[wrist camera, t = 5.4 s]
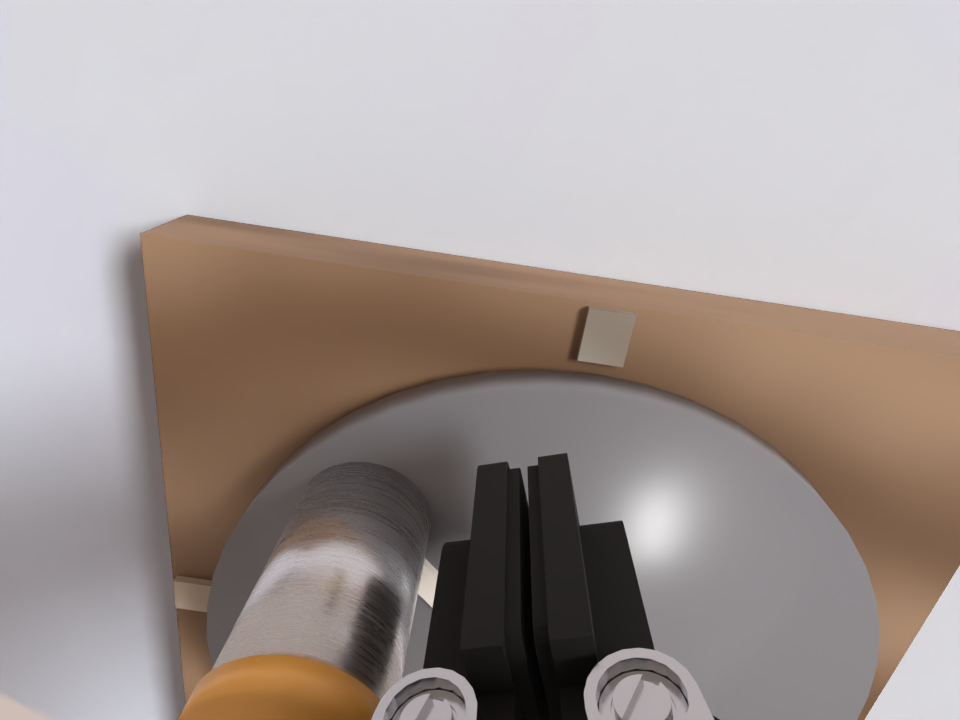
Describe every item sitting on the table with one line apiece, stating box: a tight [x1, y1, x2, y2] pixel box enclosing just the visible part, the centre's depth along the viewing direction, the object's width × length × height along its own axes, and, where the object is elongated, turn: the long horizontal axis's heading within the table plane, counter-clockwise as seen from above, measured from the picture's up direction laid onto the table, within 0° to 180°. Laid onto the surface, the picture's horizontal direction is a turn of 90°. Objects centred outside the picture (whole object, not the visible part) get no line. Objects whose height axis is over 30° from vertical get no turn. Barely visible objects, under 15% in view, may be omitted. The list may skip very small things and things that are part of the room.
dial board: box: [140, 215, 960, 720], centre depth 18 cm, size 20×20×2 cm
